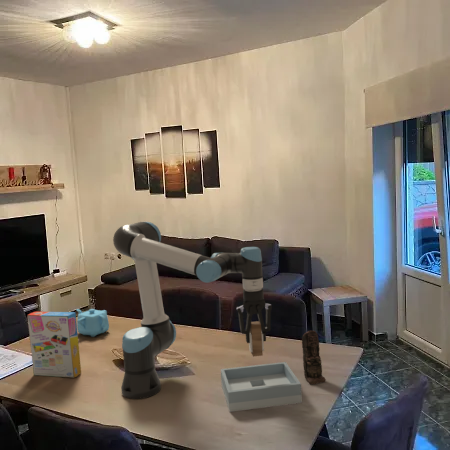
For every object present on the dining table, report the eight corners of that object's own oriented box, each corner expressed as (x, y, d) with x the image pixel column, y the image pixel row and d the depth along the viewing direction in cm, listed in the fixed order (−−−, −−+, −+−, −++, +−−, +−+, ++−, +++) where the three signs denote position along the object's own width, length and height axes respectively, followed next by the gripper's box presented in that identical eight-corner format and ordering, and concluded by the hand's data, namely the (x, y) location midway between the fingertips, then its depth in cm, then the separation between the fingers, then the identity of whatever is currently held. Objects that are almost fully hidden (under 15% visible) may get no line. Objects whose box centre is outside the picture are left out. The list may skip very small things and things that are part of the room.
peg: (251, 353, 173) (249, 322, 171) (260, 352, 173) (258, 321, 172) (253, 356, 169) (251, 325, 168) (262, 355, 170) (260, 324, 168)
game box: (81, 373, 198) (76, 312, 195) (74, 378, 193) (68, 315, 190) (41, 370, 204) (35, 310, 201) (32, 375, 198) (26, 314, 196)
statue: (310, 385, 174) (308, 334, 172) (302, 378, 181) (300, 329, 179) (326, 382, 176) (324, 332, 174) (317, 375, 183) (315, 326, 181)
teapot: (111, 327, 260) (109, 304, 258) (107, 336, 243) (105, 312, 242) (78, 330, 257) (76, 307, 256) (72, 340, 241) (69, 315, 240)
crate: (229, 411, 158) (228, 392, 157) (221, 386, 178) (220, 369, 177) (301, 402, 162) (301, 383, 161) (286, 378, 181) (285, 361, 181)
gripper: (232, 293, 164) (236, 356, 166) (277, 289, 166) (280, 351, 168) (229, 288, 171) (233, 349, 174) (272, 284, 174) (275, 344, 176)
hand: (256, 350), depth 171 cm, fingers closed on peg, 4 cm apart
